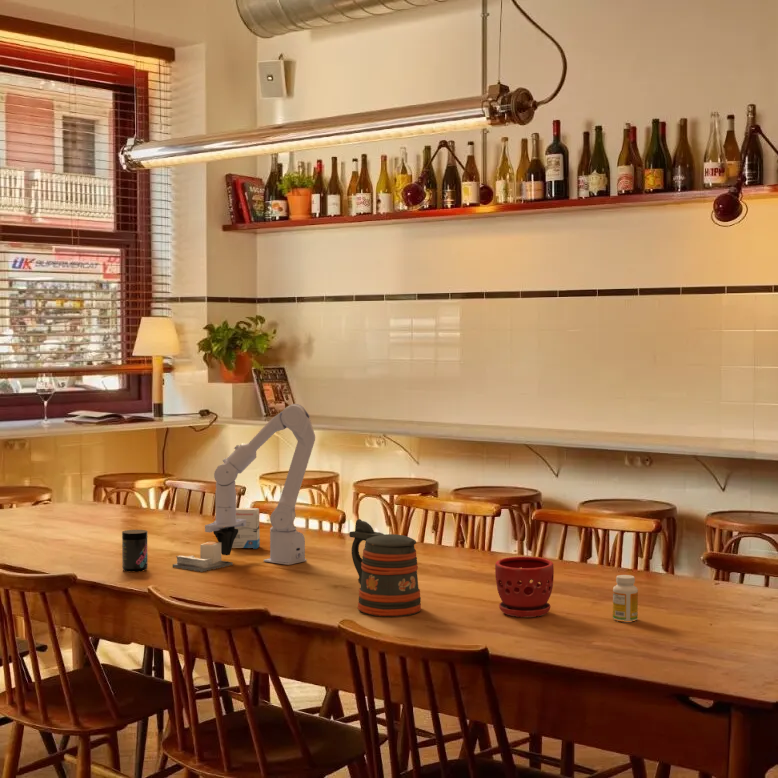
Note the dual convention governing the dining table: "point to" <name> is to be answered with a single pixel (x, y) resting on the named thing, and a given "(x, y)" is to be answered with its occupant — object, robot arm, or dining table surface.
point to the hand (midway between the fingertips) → (225, 554)
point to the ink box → (247, 529)
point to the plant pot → (524, 585)
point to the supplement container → (134, 550)
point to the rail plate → (199, 563)
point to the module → (211, 551)
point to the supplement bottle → (625, 598)
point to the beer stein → (386, 572)
